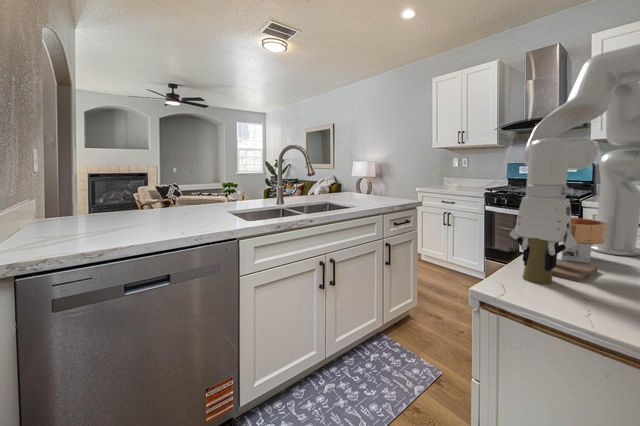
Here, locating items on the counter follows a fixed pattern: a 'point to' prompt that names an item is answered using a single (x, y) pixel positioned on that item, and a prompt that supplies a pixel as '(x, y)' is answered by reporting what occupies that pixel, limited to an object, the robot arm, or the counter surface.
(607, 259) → the counter surface
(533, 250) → the cork
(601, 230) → the cup bracket
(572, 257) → the light bulb box
